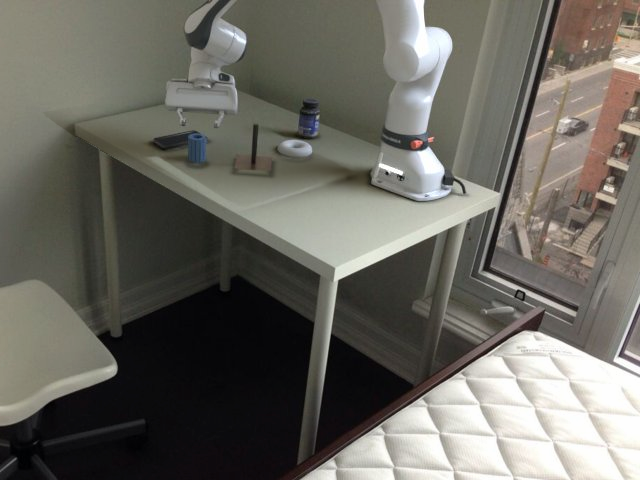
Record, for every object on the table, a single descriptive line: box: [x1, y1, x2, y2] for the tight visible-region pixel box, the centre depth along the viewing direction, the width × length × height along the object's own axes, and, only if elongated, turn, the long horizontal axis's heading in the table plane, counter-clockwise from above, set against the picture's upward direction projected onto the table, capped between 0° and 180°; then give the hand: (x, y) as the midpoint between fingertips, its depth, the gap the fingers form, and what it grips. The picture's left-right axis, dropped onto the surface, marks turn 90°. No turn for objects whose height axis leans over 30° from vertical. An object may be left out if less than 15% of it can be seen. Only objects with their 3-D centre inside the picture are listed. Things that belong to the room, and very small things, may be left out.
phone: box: [152, 129, 208, 151], centre depth 213 cm, size 8×1×15 cm
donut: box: [277, 139, 313, 158], centre depth 209 cm, size 10×3×10 cm
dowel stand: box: [234, 123, 273, 172], centre depth 197 cm, size 10×10×12 cm
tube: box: [187, 133, 207, 164], centre depth 199 cm, size 5×5×8 cm
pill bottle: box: [297, 97, 321, 140], centre depth 221 cm, size 6×6×11 cm
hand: (199, 126), depth 199 cm, fingers open, 8 cm apart
